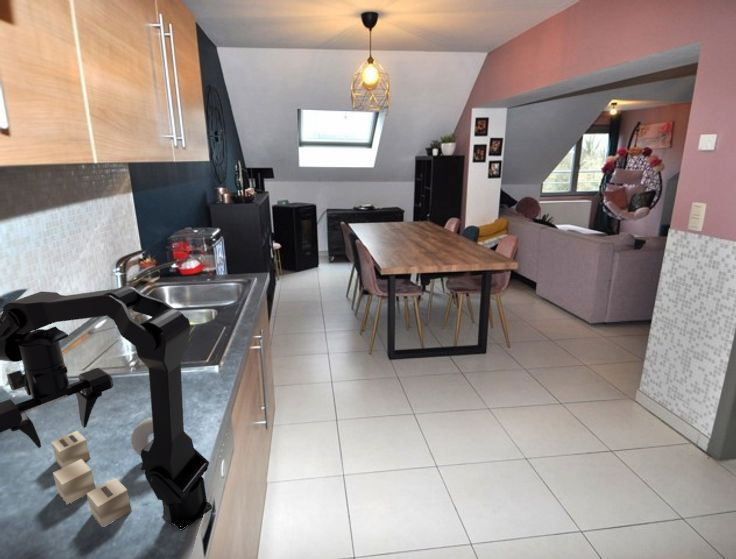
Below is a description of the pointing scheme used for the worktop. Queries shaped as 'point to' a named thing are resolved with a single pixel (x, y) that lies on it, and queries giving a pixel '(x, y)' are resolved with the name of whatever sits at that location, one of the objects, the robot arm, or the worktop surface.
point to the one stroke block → (109, 502)
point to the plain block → (74, 481)
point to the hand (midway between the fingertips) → (62, 436)
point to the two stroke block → (70, 449)
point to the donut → (142, 435)
